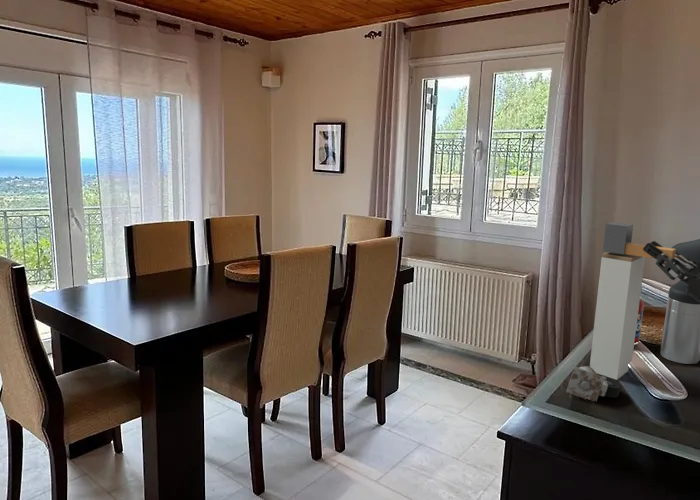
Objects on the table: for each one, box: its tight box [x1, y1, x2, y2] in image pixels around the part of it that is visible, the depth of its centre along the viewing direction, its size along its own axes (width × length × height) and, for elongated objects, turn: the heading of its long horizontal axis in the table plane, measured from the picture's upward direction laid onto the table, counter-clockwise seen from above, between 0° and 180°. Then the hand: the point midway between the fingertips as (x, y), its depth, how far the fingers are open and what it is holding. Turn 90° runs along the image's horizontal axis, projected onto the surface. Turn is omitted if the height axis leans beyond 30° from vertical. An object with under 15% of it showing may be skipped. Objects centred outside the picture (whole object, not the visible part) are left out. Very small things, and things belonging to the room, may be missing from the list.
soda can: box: [634, 295, 645, 343], centre depth 149 cm, size 8×8×15 cm
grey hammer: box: [602, 221, 676, 260], centre depth 122 cm, size 15×4×7 cm, turn 42°
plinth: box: [589, 252, 646, 380], centre depth 130 cm, size 7×10×32 cm
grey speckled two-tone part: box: [566, 365, 622, 402], centre depth 121 cm, size 7×11×10 cm
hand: (648, 245), depth 120 cm, fingers closed on grey hammer, 2 cm apart
